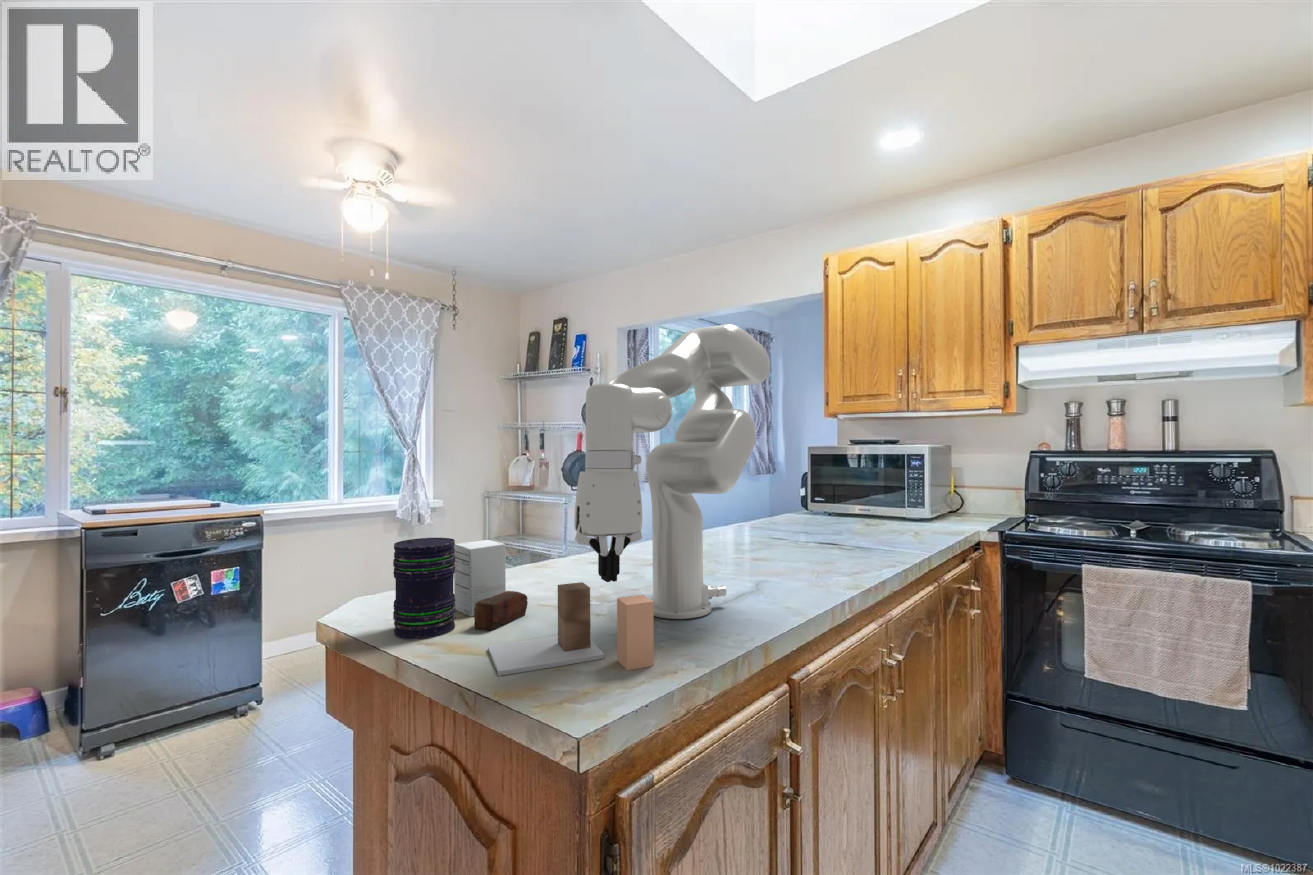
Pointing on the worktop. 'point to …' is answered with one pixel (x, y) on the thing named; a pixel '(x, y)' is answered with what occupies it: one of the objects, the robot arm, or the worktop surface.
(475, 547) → the supplement box
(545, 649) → the mat
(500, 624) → the brick
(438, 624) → the dark blue ribbed cylinder
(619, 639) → the terracotta block
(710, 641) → the worktop surface
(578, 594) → the brown cardboard box
